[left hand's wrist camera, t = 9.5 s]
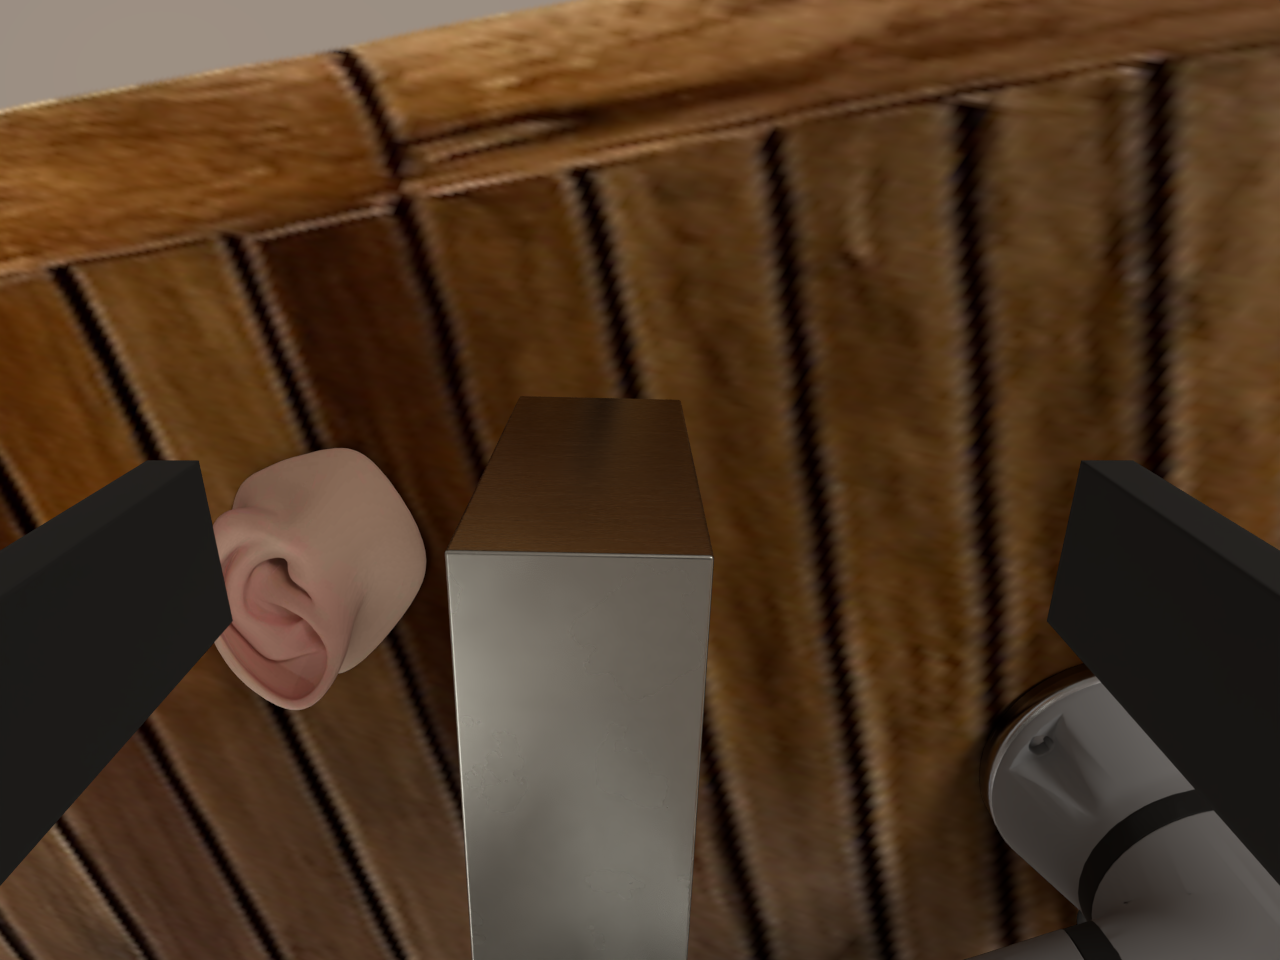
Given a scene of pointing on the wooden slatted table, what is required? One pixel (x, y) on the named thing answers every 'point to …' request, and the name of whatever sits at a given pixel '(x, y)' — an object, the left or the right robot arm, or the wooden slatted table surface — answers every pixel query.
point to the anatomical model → (314, 572)
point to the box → (581, 681)
